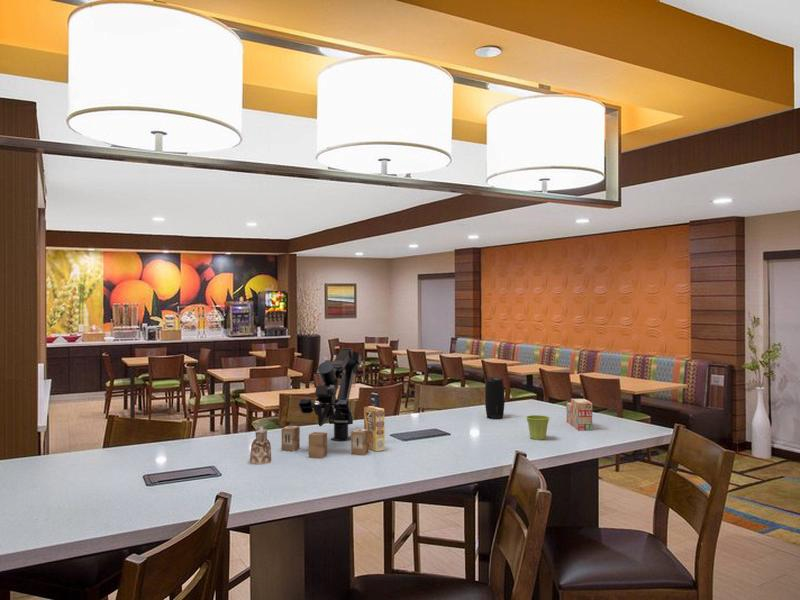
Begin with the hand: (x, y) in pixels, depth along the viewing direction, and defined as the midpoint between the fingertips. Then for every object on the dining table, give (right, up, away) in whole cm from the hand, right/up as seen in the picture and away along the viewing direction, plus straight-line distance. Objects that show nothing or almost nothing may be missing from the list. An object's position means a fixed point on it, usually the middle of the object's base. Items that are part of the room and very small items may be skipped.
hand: (320, 425), depth 213 cm
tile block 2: (+14, -11, +2) cm, 18 cm away
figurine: (-19, -10, -10) cm, 24 cm away
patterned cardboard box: (+109, -12, +55) cm, 123 cm away
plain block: (0, -10, -3) cm, 11 cm away
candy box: (+19, -11, +9) cm, 24 cm away
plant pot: (+84, -11, +28) cm, 90 cm away
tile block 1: (-12, -11, +8) cm, 18 cm away
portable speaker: (+75, -13, +77) cm, 108 cm away
